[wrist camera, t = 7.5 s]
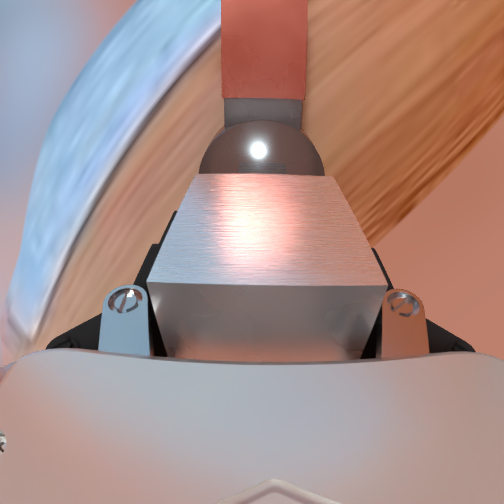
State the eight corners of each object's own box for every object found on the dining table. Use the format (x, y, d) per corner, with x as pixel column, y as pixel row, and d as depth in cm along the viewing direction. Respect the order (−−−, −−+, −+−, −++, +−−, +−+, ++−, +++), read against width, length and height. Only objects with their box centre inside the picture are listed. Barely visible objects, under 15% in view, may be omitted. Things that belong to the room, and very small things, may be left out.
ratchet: (201, 4, 13) (174, -21, 8) (325, 6, 13) (356, -16, 8) (209, 214, 21) (193, 271, 16) (311, 216, 21) (327, 273, 16)
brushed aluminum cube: (317, 282, 14) (339, 401, 9) (205, 280, 14) (183, 400, 9) (333, 176, 11) (388, 285, 6) (195, 174, 11) (146, 281, 6)
